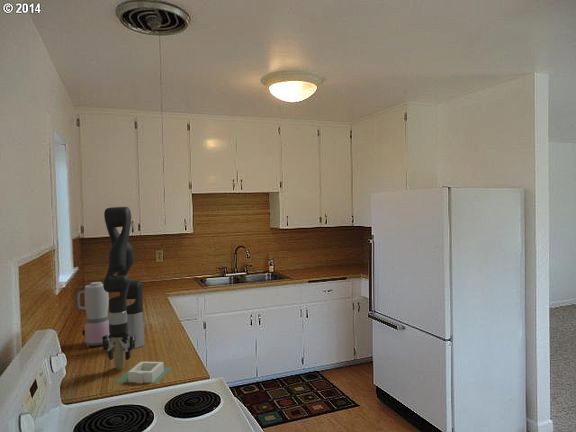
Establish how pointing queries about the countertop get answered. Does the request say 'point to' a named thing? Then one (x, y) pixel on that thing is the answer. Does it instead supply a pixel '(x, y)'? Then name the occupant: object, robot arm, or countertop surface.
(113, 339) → the handle
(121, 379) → the board
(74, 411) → the countertop surface
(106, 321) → the blender
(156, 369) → the socket
